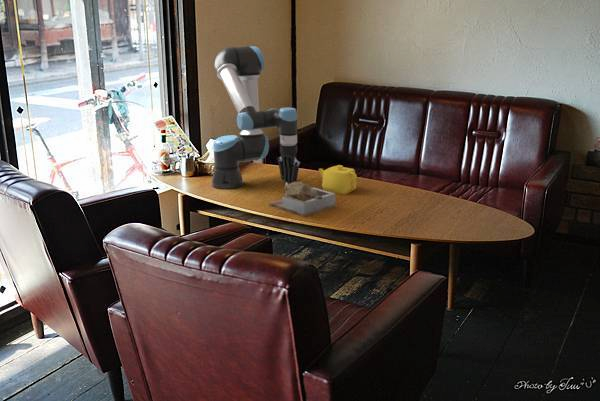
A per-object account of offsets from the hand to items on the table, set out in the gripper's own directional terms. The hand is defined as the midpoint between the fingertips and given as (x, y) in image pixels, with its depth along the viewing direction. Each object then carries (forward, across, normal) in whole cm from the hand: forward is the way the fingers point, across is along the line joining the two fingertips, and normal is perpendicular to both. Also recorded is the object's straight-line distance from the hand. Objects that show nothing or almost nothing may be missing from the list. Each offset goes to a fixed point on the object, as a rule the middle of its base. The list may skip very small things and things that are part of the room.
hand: (289, 196), depth 285 cm
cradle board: (+3, +8, 0) cm, 9 cm away
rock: (+2, +7, 0) cm, 7 cm away
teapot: (+3, +2, +30) cm, 30 cm away
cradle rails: (+2, +13, 0) cm, 13 cm away
